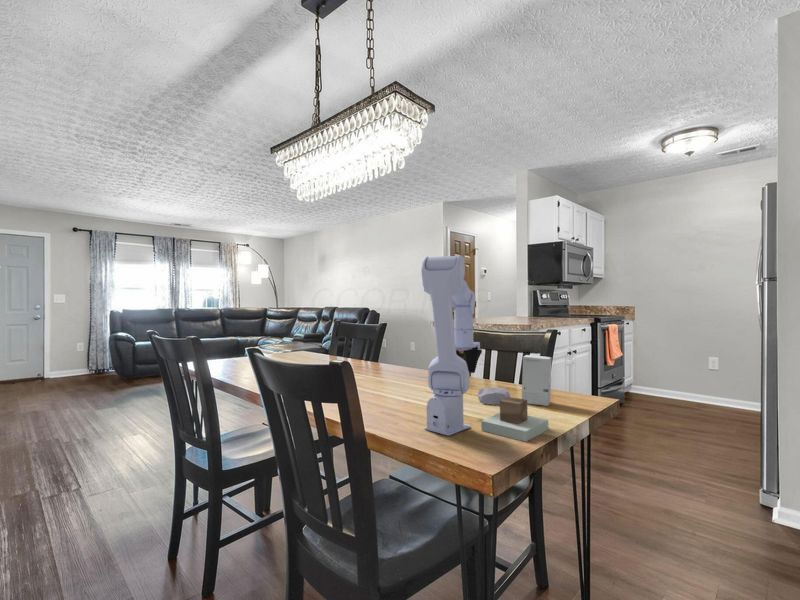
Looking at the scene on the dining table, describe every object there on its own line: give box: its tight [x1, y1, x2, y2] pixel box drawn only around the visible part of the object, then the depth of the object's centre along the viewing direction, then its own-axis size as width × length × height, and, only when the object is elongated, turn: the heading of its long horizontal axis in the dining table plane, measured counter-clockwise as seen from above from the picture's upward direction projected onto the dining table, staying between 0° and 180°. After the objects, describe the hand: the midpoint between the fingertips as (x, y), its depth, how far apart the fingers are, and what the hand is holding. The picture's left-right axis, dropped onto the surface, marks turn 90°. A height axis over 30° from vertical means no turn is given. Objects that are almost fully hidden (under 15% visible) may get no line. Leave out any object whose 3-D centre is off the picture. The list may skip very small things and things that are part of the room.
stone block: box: [477, 386, 511, 405], centre depth 130 cm, size 12×5×10 cm
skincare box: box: [521, 354, 552, 407], centre depth 127 cm, size 8×6×15 cm
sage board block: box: [480, 412, 549, 442], centre depth 100 cm, size 12×12×3 cm
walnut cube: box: [499, 396, 529, 424], centre depth 101 cm, size 5×5×5 cm
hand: (464, 374), depth 121 cm, fingers open, 7 cm apart
